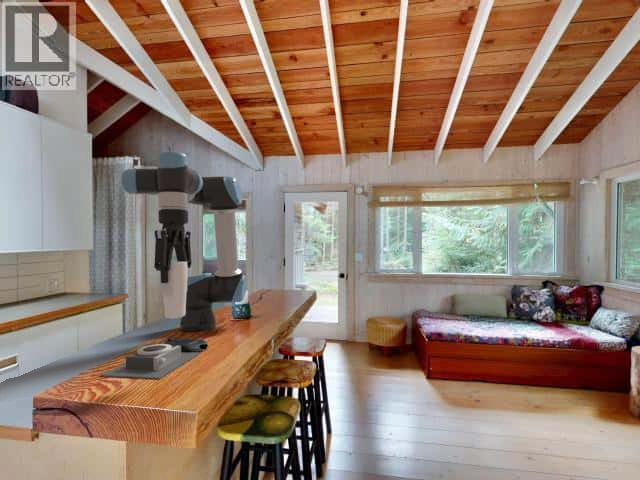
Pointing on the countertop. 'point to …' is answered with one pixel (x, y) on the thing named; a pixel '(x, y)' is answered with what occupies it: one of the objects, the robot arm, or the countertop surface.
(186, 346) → the electronic device
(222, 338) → the countertop surface
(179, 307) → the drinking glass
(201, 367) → the countertop surface
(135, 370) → the flat gray baseplate
